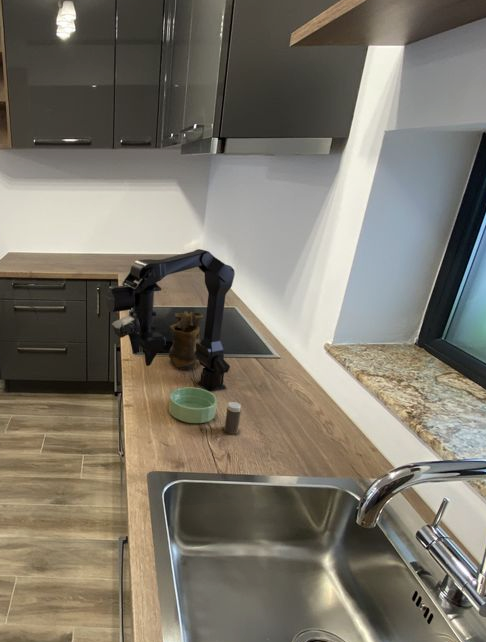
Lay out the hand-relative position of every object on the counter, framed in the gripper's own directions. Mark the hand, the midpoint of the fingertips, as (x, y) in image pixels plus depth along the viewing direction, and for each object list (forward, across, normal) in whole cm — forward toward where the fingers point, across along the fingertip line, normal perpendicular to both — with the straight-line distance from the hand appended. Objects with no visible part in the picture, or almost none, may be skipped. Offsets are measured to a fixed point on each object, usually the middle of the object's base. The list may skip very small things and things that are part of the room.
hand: (141, 359), depth 128 cm
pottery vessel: (+15, -21, +26) cm, 36 cm away
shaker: (+14, +22, +17) cm, 32 cm away
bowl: (+14, +11, +12) cm, 21 cm away
